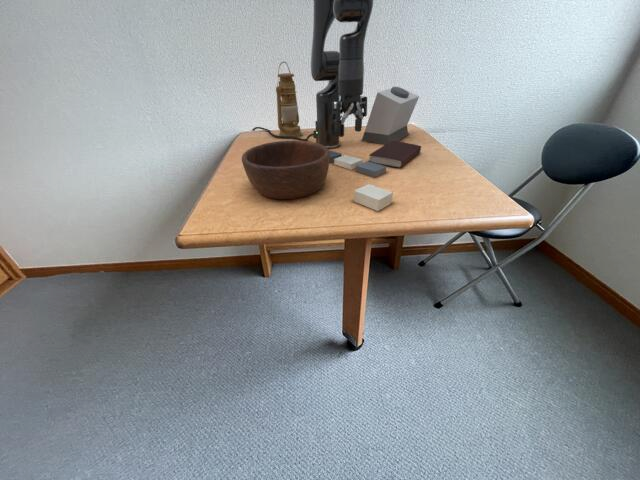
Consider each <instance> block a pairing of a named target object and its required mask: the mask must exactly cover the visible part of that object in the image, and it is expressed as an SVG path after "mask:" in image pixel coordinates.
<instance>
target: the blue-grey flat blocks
mask: <svg viewBox="0 0 640 480" xmlns="http://www.w3.org/2000/svg"><path fill="white" fill-rule="evenodd" d="M329 151H330V161H329V164H332V163H334V159H335V158H338V157H341V156H343V155H342V153H341V152H337V151H333V150H330V149H329ZM355 173H359V174H363V175H365V176H369V177H372V178H377V177H379V176H381V175H383V174H385V173H387V165H381V164H376V163H372V162H369V160H367V161H364V162H362V163H361V164H359V165H356V168H355Z"/></svg>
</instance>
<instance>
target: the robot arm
mask: <svg viewBox="0 0 640 480" xmlns="http://www.w3.org/2000/svg"><path fill="white" fill-rule="evenodd" d="M373 9H374V0H313V23H312V24H313V25H312V26H313V27H312V38H311V39H312V42H311V52H310V73H311V77H312V80H313V81H315V82H327V81H328V83H327V85H326V86H325V87H324V88H323V89H321V90H319V91H317V92H316V94H315V101H316V103H315V104H316V105H315V106H316V120H315V122H314V123H315V125H314V127H315V129H314V130H313V132H312V133H310V134H309V135H308V136H307V137H306V138H301V137H292V136H280V135H277V134H274V133H273V132H271V130H270V129H268V128H265V127H261V126H255V127H254V128H252V131H253V132H254V131H255V130H259V129H260V130H263V131H266V132H268V134H269V135H271V136H272V137H274V138H279V139H294V140H297V141H308V140H309V139H310V137H313V139H315V143H319V144H321V145H324V146H325V147H327V148H328V149H334V148H337V147H339V146H340V143H341V142H340V138H343V137H344V136H345V122H346V119H348V118H349V116H351V115H353V116H354V118H355V120H354V131H355V132H358V133H359V132H362V127H363V119H364V117H367V115H368V96H362V95H363V94H364V81H365V80H364V78H365V59H364V58H365V42H366V36H367V31H368V27H369V23H370V20H371V17H372V12H373ZM335 20H336V21H338V22H339V23H343V24H344V23H345V24H346V23H356V26H355V29H354V30H353V31H350V32H348V33H344V34H342V35H341V36H340V37H339V43H338V44H339V50H325V45H326V40H327V36H328V33H329V31H330V29H331V27H332V25H333V24H334V21H335Z"/></svg>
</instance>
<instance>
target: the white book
mask: <svg viewBox="0 0 640 480" xmlns="http://www.w3.org/2000/svg"><path fill="white" fill-rule="evenodd" d="M361 163H363V159H362V158H358V157H354V156H351V155H347V154H344V155H342V156H341V157H338V158H335V159H334V162H333V165H334V166H338V167H341V168H344V169H347V170H349V171H352V170H354V169H356V165H359V164H361Z"/></svg>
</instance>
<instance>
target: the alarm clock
mask: <svg viewBox="0 0 640 480" xmlns="http://www.w3.org/2000/svg"><path fill="white" fill-rule="evenodd" d="M419 98H420V96H419V95H418V94H416V93H413V92H411V91H409V90H407V89H405V88H402V87H401V86H392V87H391V88H388V89H384V90H381V91H377V92H376V95H375V98H374V102H373V105H372V108H371V110H370V113H369V117H368V120H367V122H366V126H365V130H364V132H363V135H362V139H361V142H367V143H373V144H377V145H378V144H379V145H385V144H387V143H389V142H390V141H397V142H399V141H400V140H402V139H403V138H405V137H406V136H408V135H409V129H408V124H409V121H410V120H411V118H412V116H413V113H414V110H415V108H416V106H417V103H418V100H419Z"/></svg>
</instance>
